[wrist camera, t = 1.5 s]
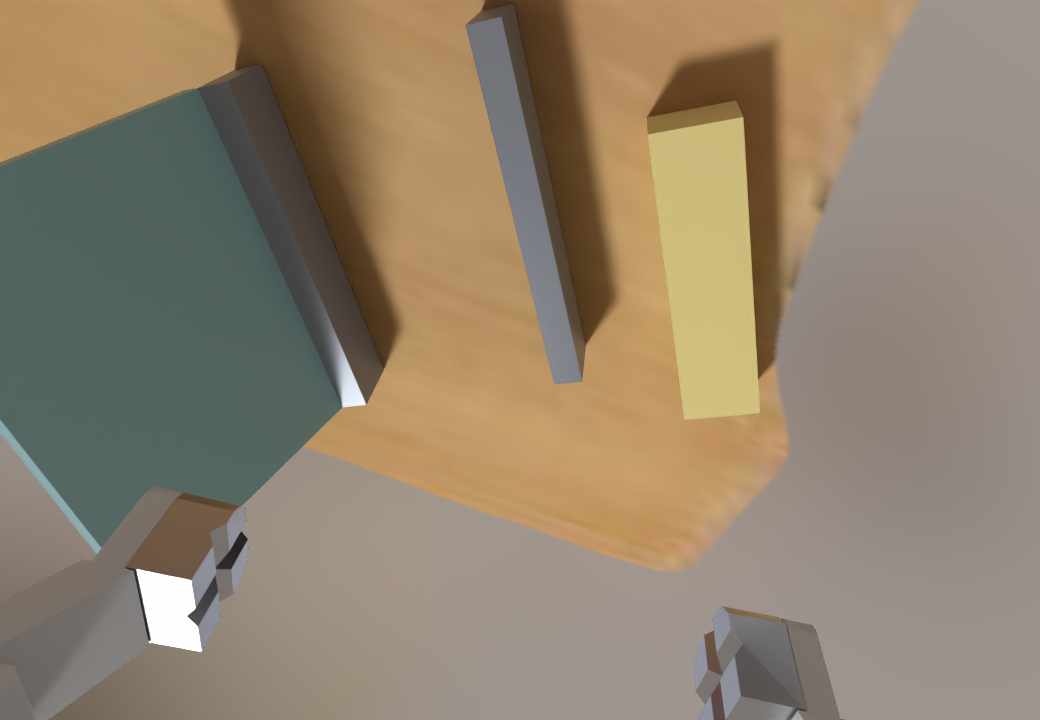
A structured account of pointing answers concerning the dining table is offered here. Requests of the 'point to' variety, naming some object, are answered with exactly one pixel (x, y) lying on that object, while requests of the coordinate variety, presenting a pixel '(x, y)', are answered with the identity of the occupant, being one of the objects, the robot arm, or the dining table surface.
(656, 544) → the dining table surface
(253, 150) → the pair of grey bars
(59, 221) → the panel
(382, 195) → the dining table surface
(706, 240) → the pale yellow strip
